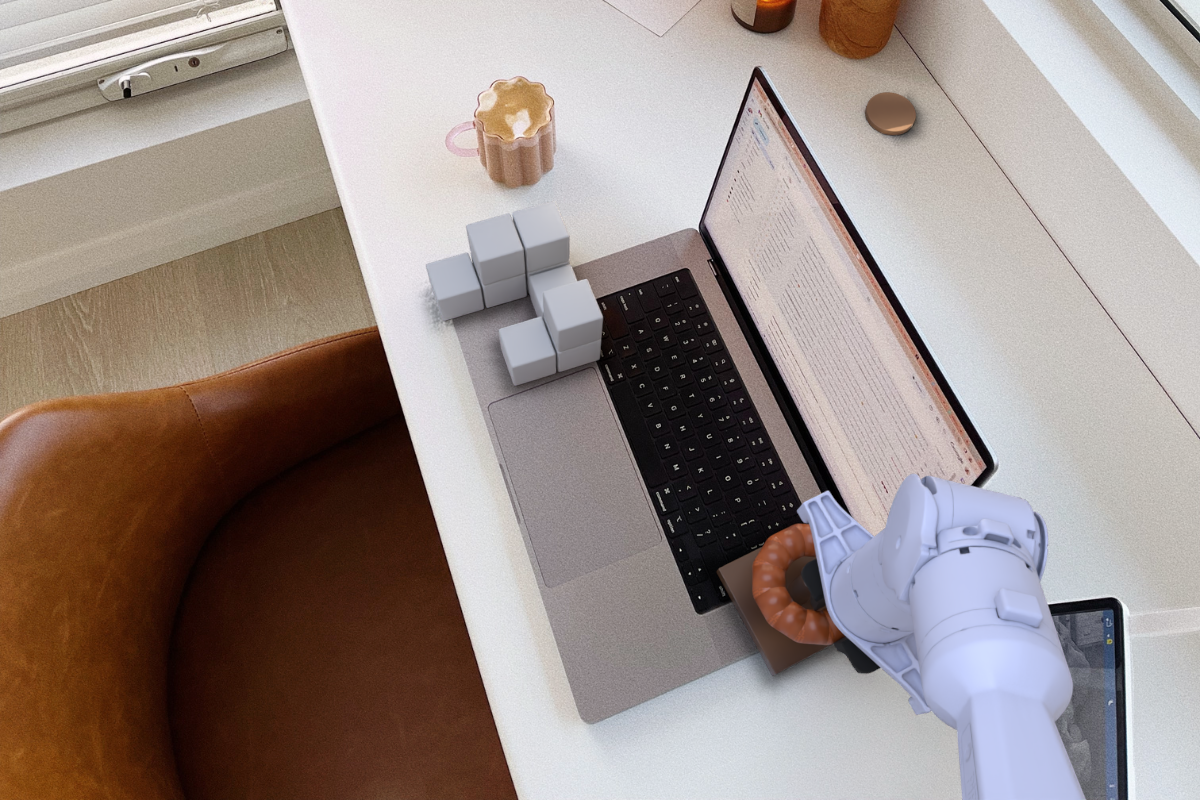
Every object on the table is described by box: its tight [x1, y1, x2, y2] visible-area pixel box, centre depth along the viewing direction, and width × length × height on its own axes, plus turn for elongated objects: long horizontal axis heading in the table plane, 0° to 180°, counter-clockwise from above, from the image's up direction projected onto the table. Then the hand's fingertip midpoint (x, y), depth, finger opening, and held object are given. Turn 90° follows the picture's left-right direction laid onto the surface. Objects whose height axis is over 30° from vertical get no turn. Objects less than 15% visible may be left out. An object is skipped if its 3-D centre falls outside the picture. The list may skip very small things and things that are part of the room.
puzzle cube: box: [425, 200, 604, 387], centre depth 78 cm, size 12×12×8 cm
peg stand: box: [716, 546, 834, 677], centre depth 70 cm, size 9×9×7 cm
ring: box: [752, 523, 846, 645], centre depth 67 cm, size 9×9×2 cm
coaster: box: [864, 91, 917, 136], centre depth 92 cm, size 5×5×1 cm
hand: (835, 621), depth 66 cm, fingers closed on ring, 2 cm apart
